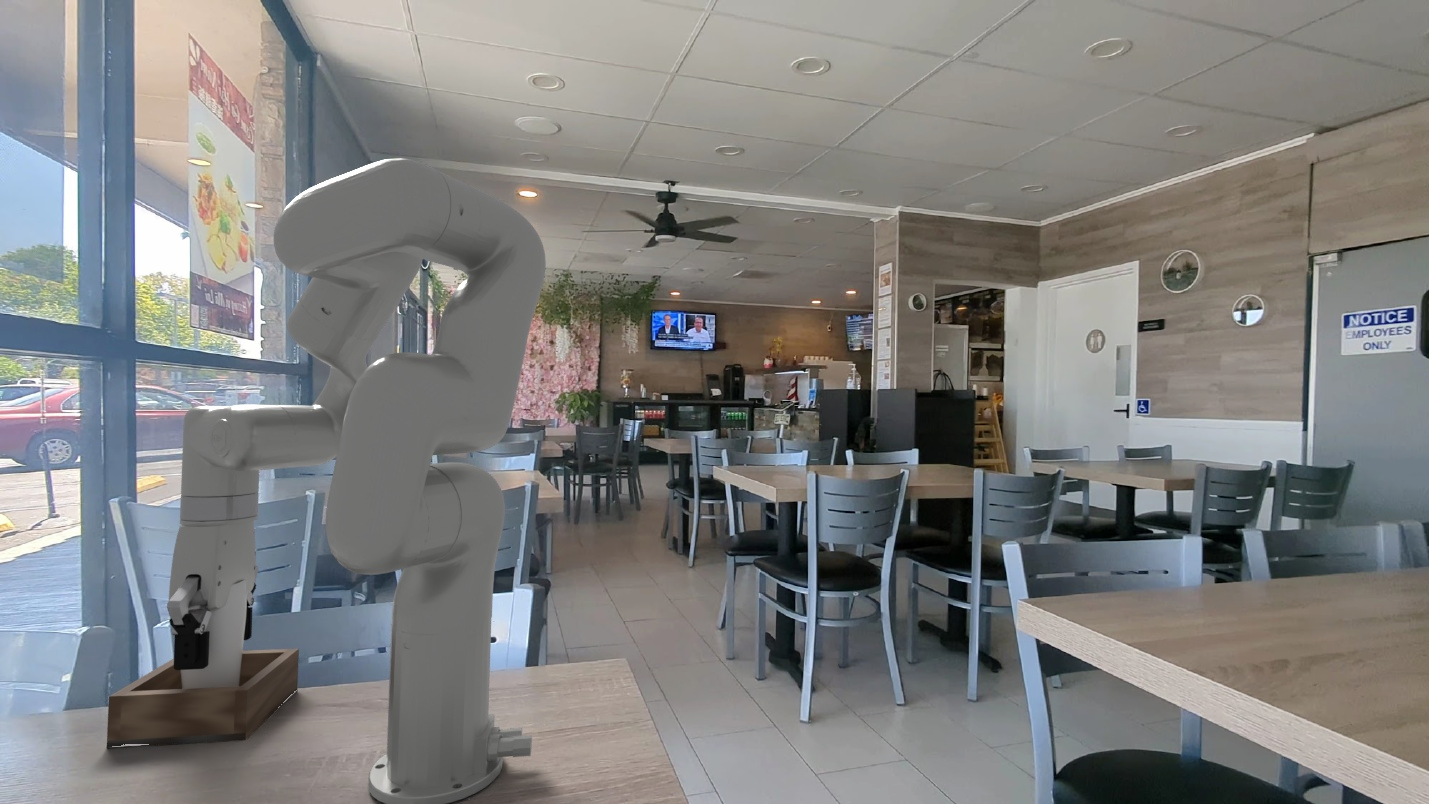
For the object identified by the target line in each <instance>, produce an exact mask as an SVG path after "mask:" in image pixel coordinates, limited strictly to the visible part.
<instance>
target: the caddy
mask: <svg viewBox="0 0 1429 804" xmlns="http://www.w3.org/2000/svg"><path fill="white" fill-rule="evenodd" d="M299 654H300V648H280V649H279V648H278V649H276V648H275V649H253V650H251V649H250V650H243V651H242V660H241V670H240V681H239V686H238V687H215V688H193V689H182V682H181V671H180V670H175V669H174V658H172V659H170V660H168V661H167V662H165V663H163V664H162V665H160V666H157V668H155V669H153V670H151V671H150V672H148V673H146V674H145V675H143V676H142V677H140V678H138V679H136V680H135V681H133V682H131V683H130V684H128V685H125V687H122V688H121V689H119V690H118V691H116V692H114V693H112V694H110V695H109V696H108V705H107V706H108V709H107V732H106V733H107V734H106V749H109V748H108V747H112V746H121V745H123V744H124V745H125V744H149V745H155V746H167V745H168V746H169V745H170V746H171V745H185V744H188V745H189V744H203V743H218V742H221V743H222V742H223V743H224V742H236V741H237V742H238V741H247V739H249V738H250V737H251V736H252V734H254V733H255V732H256V731H257V730H258V729H259V728H260V727H261V726H262V725H264V724H265V722H266V721H267V720H269V719H270V718H271V717H272V716H273V715H272V714H273V713H274V712H275V711H276V710H277V709H278V707H279V706H281V704H283V702H284V701H285V700H286V699H287V698H288V697H289V696H290V695H291V694H293V693H294V691H296V690H297V691H298V687H299V684H298V683H299V662H300V661H299V660H300V659H299V657H300V656H299ZM283 705H284V704H283ZM281 707H282V706H281ZM278 710H279V709H278ZM278 710H277V711H278ZM277 711H276V712H277ZM276 712H275V713H276ZM275 713H274V714H275ZM271 715H272V716H271ZM270 716H271V717H270Z"/></svg>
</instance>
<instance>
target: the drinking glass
mask: <svg viewBox="0 0 1429 804" xmlns="http://www.w3.org/2000/svg"><path fill="white" fill-rule="evenodd" d="M206 603H207V601H204V599H203V596H202V593H201V591H197V593H196V594H195V595H194V597H193V598H192V599H191V605H206ZM246 610H247V592H246V579H244V580H243V581H241V582H239V583H236V584H233V585H232V586H231V589H230V592H229V596H228V599H227V602H226V605H225V606H224V607H222V608H220V609H219V610H216V611H213V612H212V615H211V617H210V619H209V622H208V624H207V627H206V629H205V632H206V631H210V633H209V661H208V666H207V667H205V668H204V669H191V670H180V671H181V682H182V689H193V688H215V687H238V686H239V681H240V670H241V660H242V651H244V649H243V648H244V641H245V640H244V632H245V623H246ZM192 615H193V616H194V617H195V618H196V620H197V621H198V619H199V617H200V614H192Z"/></svg>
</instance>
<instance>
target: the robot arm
mask: <svg viewBox="0 0 1429 804" xmlns="http://www.w3.org/2000/svg"><path fill="white" fill-rule="evenodd" d="M273 247H274V250H275V254H276V257H277V258H278V260H279V261H280V262H281V263H282V264H283V266H285V267H286V268H287V269H288V270H290V271H292V272H293V273H296V274H298V275H303V276H305V277H311V279H310V281H309V283H308V284H307V286H306V288H305V290H304V292H303V293H302V294H301V296H300V297H299V300H298V301H297V303H296V304H295V306H294V308H293V309H292V311H291V312H290V314H289V315H288V318H287V322H286V328H287V332H288V335H289V336H290V338H291V339H292V340H293V341H294V342H295V344H297V345H298V346H299V347H300V348H301V349H303V350H304V351H305V352H306V353H308V354H309V355H311V356H312V357H313V358H315V359H317V360H319V361H320V362H322V363H323V364H325V365H327V366H329V375H328V376H327V377H328V378H327V381H326V382H325V384H324V386H323V389H322V390H321V392H320V393H319V395H318V396H317V397H316V399H315V401H314V402H313V403H312V405H301V404H299V405H297V404H293V405H292V404H236V405H235V404H234V405H231V406H230V405H229V406H228V405H201V406H200V405H199V406H194V407H192V408H189V410H187V411H186V413H185V415H184V417H183V425H182V427H183V428H182V429H183V430H182V431H183V432H182V455H181V457H182V458H181V461H182V462H181V463H182V464H181V481H180V483H181V484H180V503H179V504H180V505H179V506H180V508H179V511H180V512H179V528H178V531H177V535H176V538H175V543H174V548H173V554H172V561H171V562H172V563H171V569H170V576H169V577H170V578H169V590H168V601H167V604H166V609H167V612H168V614H169V618H170V619H169V624H170V626H171V627H172V629H171V632H172V635H173V636H174V647H173V650H174V651H173V659H174V669H175V670H191V669H204V668H205V667H207V666H208V661H209V633H210V631H206V632H205V629H206V627H207V624H208V622H209V619H210V617H211V615H212V612H213V611H216V610H219V609H220V608H222V607H224V606H225V605H226V602H227V599H228V596H229V592H230V589H231V586H232V585H233V584H236V583H239V582H241V581H243V580H244V579H246V592H247V610H246V623H245V632H244V641H248V640H250V639H251V638H252V635H253V634H252V629H253V609H254V608H253V606H254V604H255V597H254V593H255V591H256V589H257V584H256V580H257V577H258V573H259V567H258V566H257V565H256V564H257V563H256V562H257V561H256V559H257V556H256V555H257V553H256V551H257V550H256V548H257V547H256V532H255V531H256V530H255V521H257V520H258V519H259V496H260V493H259V491H260V471H265V470H266V471H267V470H276V469H290V468H306V467H316V466H321V465H324V464H327V463H329V462H331V461H333V460H334V459H335V461H334V462H335V463H334V465H333V466H334V467H333V470H332V471H333V472H332V478H331V482H330V487H329V492H328V497H327V503H326V511H325V535H326V540H327V544H328V546H329V549H330V552H331V554H332V556H333V557H334V558H335V560H336V561H337V562H338V563H339V564H340V565H341V566H342V567H343V568H345V569H346V570H348V571H350V572H352V573H355V574H360V575H365V576H366V575H369V576H372V575H382V574H388V573H392V572H396V571H400V570H401V573H400V577H399V579H398V582H397V585H396V588H395V592H394V597H393V602H392V610H391V611H392V612H391V624H390V625H391V627H390V628H391V629H390V651H389V652H390V656H389V679H388V680H389V683H388V684H389V686H388V707H387V709H388V710H387V711H388V712H387V713H388V714H387V736H386V738H387V741H386V753H385V754H384V755H383V756H382V757H380V758H379V759H378V760H377V761H376V762H375V763H374V764H373V765H371V766H372V767H371V768H370V771H369V773H368V781H367V784H368V785H367V786H368V791H369V793H370V794H371V796H372V797H373V799H376V800H377V801H378V802H381V803H382V804H450V803H451V804H452V803H455V802H456V801H460V800H464V799H466V798H468V797H470V796H473V795H475V794H477V793H478V792H480V791H481V790H483V789H485V788H486V787H488V785H490V784H491V783H492V782H494V780H495V779H496V778H498V776H499V775H500V773H501V770H502V768H503V763H504V761H503V758H506V757H508V758H509V757H512V758H519V757H520V758H521V757H523V758H524V757H531V756H532V750H533V749H532V748H533V747H532V745H533V735H532V734H531V735H523V727H514V728H512V727H511V728H507V729H501V728H500V726H495V716H496V715H495V714H494V713H493V714H492V713H491V714H489V707H490V675H491V674H490V672H491V645H492V642H491V641H492V640H491V639H492V619H493V618H492V617H493V600H494V599H493V598H494V582H495V570H496V564H497V558H498V557H497V556H498V552H499V549H500V543H501V539H502V538H501V537H502V534H503V529H504V524H505V515H506V510H505V509H506V504H505V503H506V502H505V498H504V493H503V491H502V489H501V486H500V485H499V483H498V481H497V479H496V478H494V476H493V475H492V474H491V473H489V472H488V471H487V470H486V469H484V468H481V467H480V466H478V465H475V464H471V463H466V462H456V461H455V462H450V461H449V462H434V463H431V462H432V459H433V456H441V455H443V456H444V455H445V456H446V455H455V454H467V453H468V454H469V453H470V454H471V453H477V452H482V451H485V450H488V449H491V448H493V447H495V446H496V445H497V444H499V443H500V442H501V440H503V438H504V437H505V435H506V433H507V431H508V428H509V426H510V423H511V418H512V414H513V409H514V406H515V401H516V397H517V393H518V392H517V391H518V388H519V382H520V378H521V373H522V368H523V364H524V360H525V355H526V349H527V345H528V344H527V343H528V340H529V339H528V338H529V335H530V330H531V329H530V328H531V325H532V322H533V318H534V315H535V312H536V308H537V305H538V302H539V299H540V297H541V293H542V289H543V287H544V281H545V275H546V265H547V264H546V262H547V261H546V253H545V248H544V245H543V242H542V240H541V237H540V235H539V233H538V231H537V230H536V229H535V227H534V226H533V224H532V223H531V222H530V221H529V220H528V219H527V218H526V217H525V216H524V215H522V214H521V213H520V212H518V211H517V210H516V209H515V208H513V207H512V206H510V205H509V204H507V203H505V202H504V201H502V200H500V199H498V198H496V197H495V196H492V195H491V194H489V193H487V192H485V191H483V190H481V189H479V188H477V187H475V186H473V185H471V184H468V183H465V182H463V181H461V180H459V179H457V178H455V177H453V176H451V175H449V174H447V173H445V172H443V171H441V170H438V169H437V168H434V167H432V166H430V165H428V164H425V163H423V162H421V161H417V160H413V159H409V158H404V157H398V158H396V157H395V158H394V157H393V158H387V159H382V160H379V161H375V162H372V163H370V164H367V165H364V166H362V167H359V168H357V169H354V170H352V171H349V172H346V173H344V174H341V175H339V176H336V177H333V178H330V179H328V180H325V181H323V182H321V183H318V184H317V185H313V186H312V187H309V188H308V189H306V190H304V191H303V192H301V193H300V194H299V195H297V196H296V197H295V198H293V199H292V200H291V201H290V202H289V203H287V205H286V206H285V208H284V209H283V210H282V211H281V214H280V215H279V217H278V219H277V221H276V224H275V227H274V230H273ZM423 260H425V261H428V262H432V263H434V264H438V265H443V266H446V267H449V268H453V269H456V270H459V271H461V272H463V273H464V274H466V275H467V277H466V279H465V280H464V281H462V283H461V284H459V285H458V286H457V288H456V289H455V290H454V292H452V295H451V296H450V297H449V299H448V301H447V303H446V305H445V307H444V309H443V312H442V314H441V317H440V323H439V329H438V333H437V334H438V335H437V336H436V337H437V338H436V340H435V345H434V347H433V351H432V353H431V354H429V353H428V354H427V353H424V352H423V353H422V352H411V351H405V352H394V353H390V354H388V355H385V356H381V357H380V358H378V359H377V360H375V361H373V363H371V364H370V365H369V366H368V364H367V356H368V354H369V352H370V350H371V349H372V347H373V345H374V343H375V342H376V340H377V339H378V338H379V336H380V334H381V333H382V331H383V329H384V328H385V326H386V324H387V323H388V321H389V320H390V318H391V317H392V315H393V313H394V312H395V310H396V309H397V307H398V305H399V304H400V302H401V300H402V299H403V297H404V296H405V294H406V292H407V291H408V290H409V287H411V284H412V283H413V281H414V279H415V278H416V276H417V275H418V273H419V271H420V269H421V266H422V264H423ZM197 591H201V593H202V596H203V599H204V601H207V603H206V605H191V599H192V598H193V597H194V595H195V594H196V593H197ZM192 614H200V617H199V619H198V621H197V620H196V618H195V617H194V616H193V615H192Z"/></svg>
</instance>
